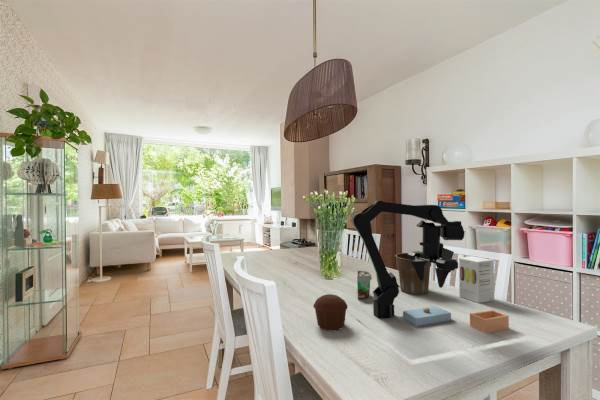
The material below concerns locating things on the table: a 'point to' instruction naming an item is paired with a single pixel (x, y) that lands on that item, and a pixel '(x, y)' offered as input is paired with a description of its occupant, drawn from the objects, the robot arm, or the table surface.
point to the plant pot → (412, 276)
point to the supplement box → (476, 279)
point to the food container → (363, 284)
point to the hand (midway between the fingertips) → (430, 283)
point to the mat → (428, 324)
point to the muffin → (330, 312)
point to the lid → (426, 315)
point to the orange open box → (489, 321)
